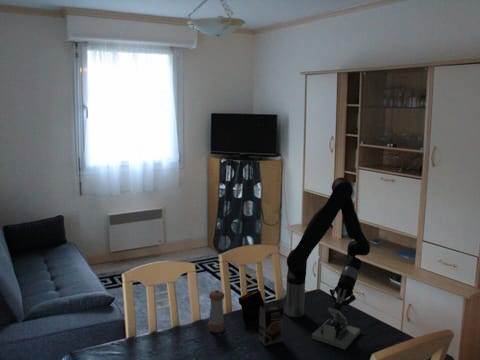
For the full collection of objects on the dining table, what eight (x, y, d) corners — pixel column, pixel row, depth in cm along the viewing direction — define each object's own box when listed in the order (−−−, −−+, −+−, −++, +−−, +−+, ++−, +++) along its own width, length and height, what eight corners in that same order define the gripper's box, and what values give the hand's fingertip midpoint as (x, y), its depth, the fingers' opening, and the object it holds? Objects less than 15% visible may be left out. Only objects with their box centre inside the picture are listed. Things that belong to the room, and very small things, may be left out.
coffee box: (265, 346, 209) (266, 312, 206) (258, 339, 214) (259, 306, 211) (282, 341, 213) (284, 308, 210) (275, 335, 218) (276, 302, 215)
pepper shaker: (212, 333, 218) (213, 294, 215) (206, 327, 224) (206, 288, 221) (226, 330, 222) (227, 291, 218) (219, 323, 228) (220, 286, 225)
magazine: (272, 317, 232) (259, 291, 229) (247, 328, 232) (234, 303, 229) (270, 313, 236) (258, 288, 233) (246, 325, 236) (234, 299, 232)
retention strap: (334, 318, 223) (326, 309, 213) (335, 315, 223) (327, 306, 214) (346, 321, 220) (338, 313, 210) (347, 318, 220) (339, 310, 211)
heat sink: (320, 333, 217) (321, 325, 216) (328, 326, 223) (328, 318, 222) (341, 340, 211) (341, 332, 210) (348, 333, 217) (348, 325, 217)
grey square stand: (311, 338, 216) (312, 320, 215) (328, 323, 231) (329, 306, 229) (344, 349, 207) (346, 331, 206) (360, 333, 222) (361, 316, 220)
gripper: (333, 271, 224) (320, 304, 217) (360, 277, 217) (348, 312, 209) (337, 278, 230) (325, 311, 222) (363, 284, 222) (352, 319, 214)
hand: (336, 311), depth 216 cm, fingers closed
